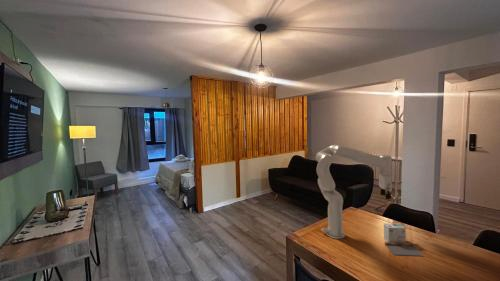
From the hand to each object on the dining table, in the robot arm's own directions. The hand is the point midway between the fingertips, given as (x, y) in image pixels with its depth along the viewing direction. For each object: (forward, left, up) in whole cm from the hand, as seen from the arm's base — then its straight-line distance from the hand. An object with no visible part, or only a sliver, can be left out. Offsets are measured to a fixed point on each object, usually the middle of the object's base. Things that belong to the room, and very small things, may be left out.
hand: (385, 196), depth 152 cm
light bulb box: (0, -12, -26) cm, 29 cm away
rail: (0, -18, -26) cm, 31 cm away
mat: (0, -24, -26) cm, 35 cm away
